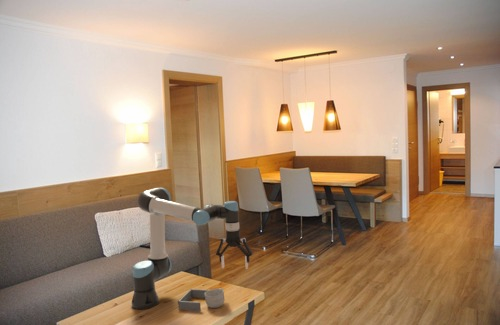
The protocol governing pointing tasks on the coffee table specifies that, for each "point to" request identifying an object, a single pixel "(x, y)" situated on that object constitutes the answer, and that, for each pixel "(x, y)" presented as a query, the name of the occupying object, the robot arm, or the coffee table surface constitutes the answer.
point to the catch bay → (187, 305)
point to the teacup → (214, 297)
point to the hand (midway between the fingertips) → (234, 267)
